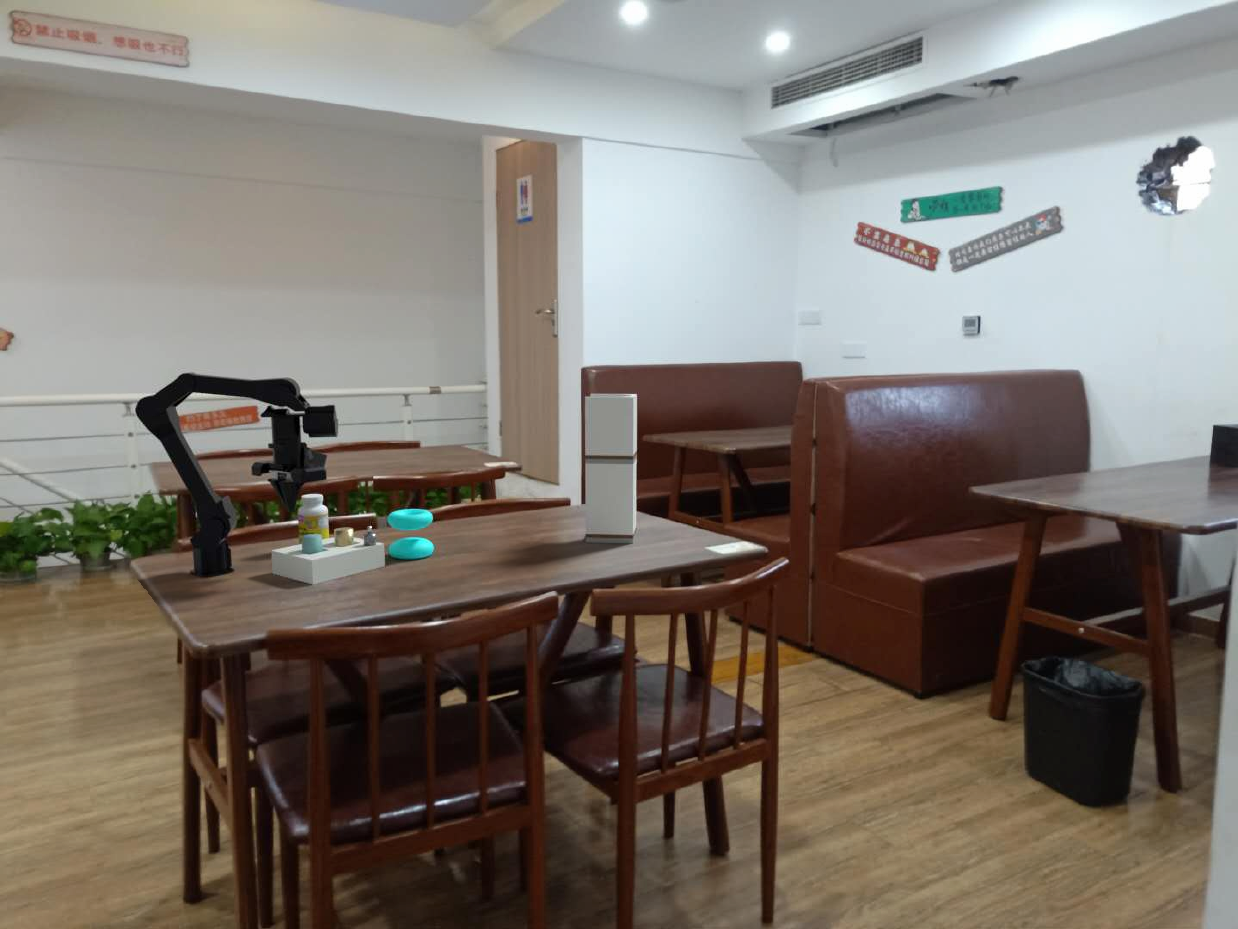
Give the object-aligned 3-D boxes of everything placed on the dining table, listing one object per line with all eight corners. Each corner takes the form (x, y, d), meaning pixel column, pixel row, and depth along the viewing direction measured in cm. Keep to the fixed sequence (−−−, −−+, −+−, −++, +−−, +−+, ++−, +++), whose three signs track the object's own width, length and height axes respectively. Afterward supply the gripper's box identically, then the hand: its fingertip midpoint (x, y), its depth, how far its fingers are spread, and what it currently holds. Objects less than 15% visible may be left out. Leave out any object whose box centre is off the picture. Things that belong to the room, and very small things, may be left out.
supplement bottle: (293, 551, 210) (290, 496, 208) (315, 545, 216) (312, 492, 214) (314, 554, 207) (311, 499, 205) (335, 548, 213) (333, 494, 211)
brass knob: (343, 564, 194) (341, 532, 193) (331, 561, 196) (330, 529, 195) (358, 560, 197) (357, 529, 196) (347, 558, 199) (345, 526, 198)
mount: (313, 584, 182) (311, 560, 182) (272, 573, 191) (271, 550, 190) (384, 566, 197) (384, 543, 196) (344, 556, 205) (343, 535, 204)
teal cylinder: (310, 572, 187) (309, 539, 186) (299, 569, 190) (297, 536, 189) (327, 568, 191) (325, 535, 190) (315, 565, 193) (314, 533, 192)
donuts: (378, 515, 201) (401, 506, 211) (380, 559, 203) (402, 549, 212) (419, 517, 199) (440, 509, 208) (421, 562, 200) (441, 551, 210)
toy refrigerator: (636, 533, 228) (636, 394, 223) (633, 543, 218) (633, 397, 213) (591, 532, 229) (590, 393, 224) (585, 542, 219) (585, 396, 214)
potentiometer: (369, 546, 193) (368, 528, 192) (361, 545, 195) (360, 526, 194) (378, 544, 195) (378, 526, 194) (371, 542, 197) (370, 524, 196)
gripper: (346, 437, 191) (350, 510, 194) (294, 431, 202) (297, 500, 205) (300, 442, 182) (304, 519, 185) (248, 436, 193) (252, 508, 196)
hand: (290, 511), depth 193 cm, fingers closed
